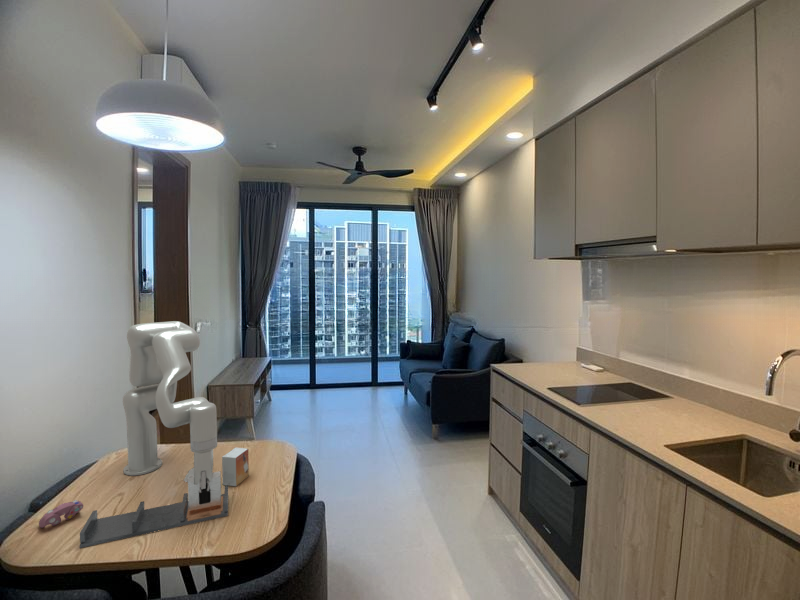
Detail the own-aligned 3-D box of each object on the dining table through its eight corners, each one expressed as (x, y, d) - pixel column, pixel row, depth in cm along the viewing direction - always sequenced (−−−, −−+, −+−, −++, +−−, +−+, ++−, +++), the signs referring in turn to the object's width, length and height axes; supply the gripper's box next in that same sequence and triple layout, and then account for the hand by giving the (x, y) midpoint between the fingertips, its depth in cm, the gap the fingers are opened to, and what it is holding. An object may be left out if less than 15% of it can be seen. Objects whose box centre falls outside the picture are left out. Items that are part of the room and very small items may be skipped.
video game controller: (42, 536, 113) (45, 519, 111) (36, 525, 115) (39, 507, 113) (83, 518, 122) (87, 502, 120) (77, 508, 124) (80, 491, 122)
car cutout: (192, 474, 147) (192, 462, 147) (206, 477, 145) (206, 465, 145) (156, 495, 133) (156, 482, 132) (171, 499, 131) (171, 486, 130)
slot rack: (94, 522, 117) (93, 509, 117) (228, 495, 132) (228, 484, 131) (79, 548, 106) (79, 534, 106) (227, 515, 121) (227, 503, 120)
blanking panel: (190, 504, 124) (189, 476, 123) (221, 497, 127) (220, 471, 127) (188, 511, 120) (187, 482, 119) (220, 504, 123) (220, 476, 123)
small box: (236, 487, 137) (235, 458, 137) (222, 485, 138) (221, 456, 138) (249, 475, 145) (248, 448, 145) (235, 474, 146) (235, 446, 146)
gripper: (193, 434, 128) (194, 488, 130) (187, 456, 113) (189, 517, 114) (218, 431, 131) (219, 484, 132) (216, 451, 116) (217, 511, 117)
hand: (205, 498), depth 123 cm, fingers closed on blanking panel, 3 cm apart
